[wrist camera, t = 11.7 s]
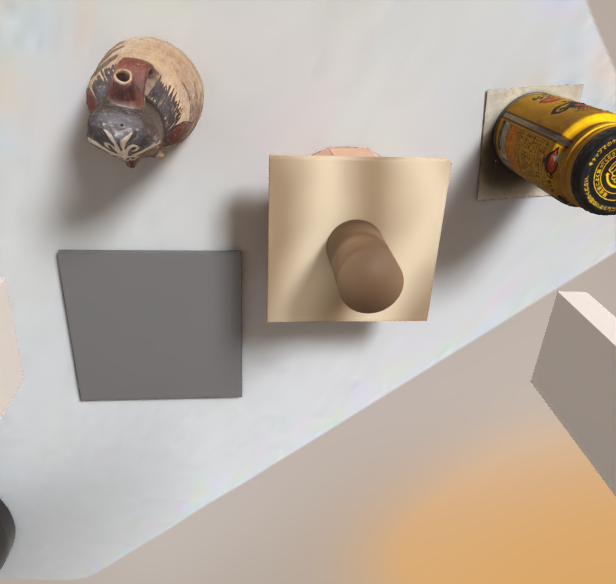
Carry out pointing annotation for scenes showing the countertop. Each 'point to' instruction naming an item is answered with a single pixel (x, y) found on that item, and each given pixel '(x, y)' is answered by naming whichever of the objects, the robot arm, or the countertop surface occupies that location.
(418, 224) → the lid
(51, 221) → the countertop surface
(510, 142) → the condiment
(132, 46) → the figurine
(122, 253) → the mat
